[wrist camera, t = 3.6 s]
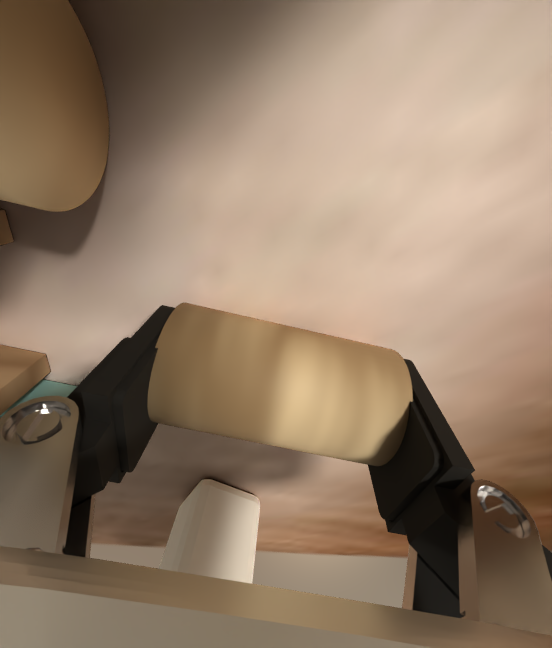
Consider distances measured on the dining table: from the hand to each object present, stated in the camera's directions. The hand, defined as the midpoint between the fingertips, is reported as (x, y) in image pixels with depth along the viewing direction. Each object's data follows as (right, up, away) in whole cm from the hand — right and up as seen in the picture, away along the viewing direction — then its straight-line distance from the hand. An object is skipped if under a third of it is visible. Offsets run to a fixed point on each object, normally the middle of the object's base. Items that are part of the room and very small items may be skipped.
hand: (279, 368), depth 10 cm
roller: (0, +1, +1) cm, 1 cm away
